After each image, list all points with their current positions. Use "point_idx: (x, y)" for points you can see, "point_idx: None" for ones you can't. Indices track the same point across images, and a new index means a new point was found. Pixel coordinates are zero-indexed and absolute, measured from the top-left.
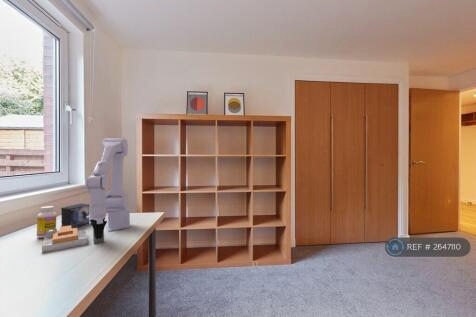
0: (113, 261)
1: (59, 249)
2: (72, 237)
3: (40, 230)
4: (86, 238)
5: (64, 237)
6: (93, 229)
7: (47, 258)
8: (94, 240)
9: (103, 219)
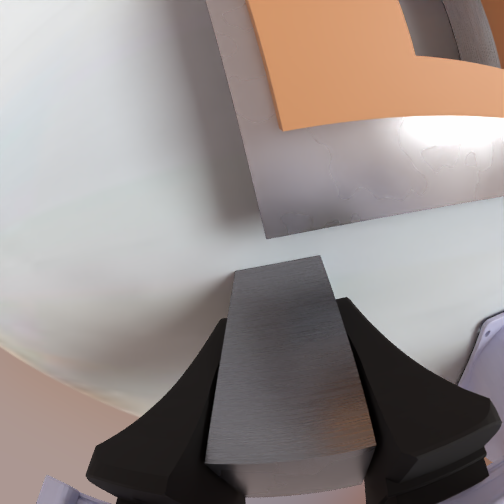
0: (9, 347)
1: None
2: (265, 59)
3: None
4: (266, 231)
5: None
6: (264, 378)
7: (52, 11)
8: (233, 295)
9: (368, 498)
